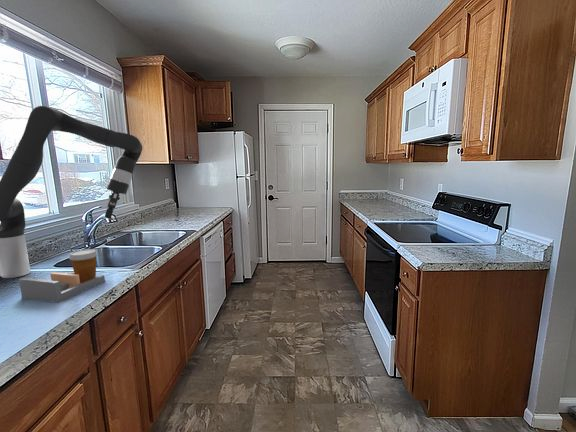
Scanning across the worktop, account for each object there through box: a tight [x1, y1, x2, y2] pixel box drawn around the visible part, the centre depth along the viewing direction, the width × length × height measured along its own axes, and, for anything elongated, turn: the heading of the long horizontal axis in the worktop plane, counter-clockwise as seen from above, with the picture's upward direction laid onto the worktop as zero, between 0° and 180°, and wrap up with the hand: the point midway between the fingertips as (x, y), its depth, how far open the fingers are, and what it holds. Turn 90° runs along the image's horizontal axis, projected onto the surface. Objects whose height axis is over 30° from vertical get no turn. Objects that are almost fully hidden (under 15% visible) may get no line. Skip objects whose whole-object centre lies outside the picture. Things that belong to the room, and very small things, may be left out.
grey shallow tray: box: [18, 271, 106, 303], centre depth 112 cm, size 16×20×7 cm
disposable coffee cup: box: [68, 248, 98, 284], centre depth 120 cm, size 10×10×12 cm
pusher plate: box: [49, 272, 81, 292], centre depth 111 cm, size 12×3×6 cm, turn 76°
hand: (107, 218), depth 124 cm, fingers open, 8 cm apart
